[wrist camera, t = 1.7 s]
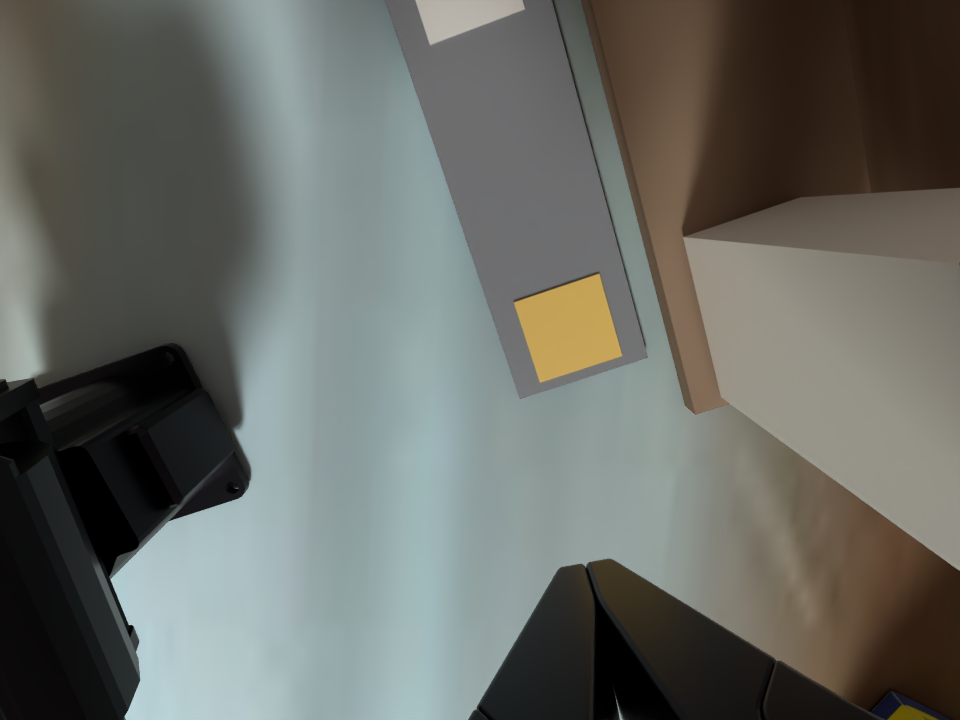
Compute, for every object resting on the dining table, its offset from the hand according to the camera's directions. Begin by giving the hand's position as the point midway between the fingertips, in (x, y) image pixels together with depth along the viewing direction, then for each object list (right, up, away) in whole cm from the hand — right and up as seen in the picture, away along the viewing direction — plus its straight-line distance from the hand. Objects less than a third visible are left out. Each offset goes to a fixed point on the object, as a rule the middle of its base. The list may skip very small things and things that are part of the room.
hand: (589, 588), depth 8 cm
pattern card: (0, +10, +10) cm, 15 cm away
